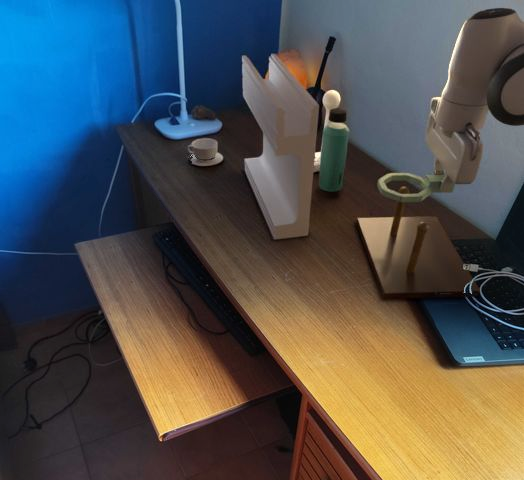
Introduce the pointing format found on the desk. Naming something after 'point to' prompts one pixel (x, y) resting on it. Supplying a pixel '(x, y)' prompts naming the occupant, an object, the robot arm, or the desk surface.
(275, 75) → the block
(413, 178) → the hanging tag
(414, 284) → the peg rack
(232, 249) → the desk surface
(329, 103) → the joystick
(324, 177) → the beverage bottle
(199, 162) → the teacup
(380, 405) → the desk surface
